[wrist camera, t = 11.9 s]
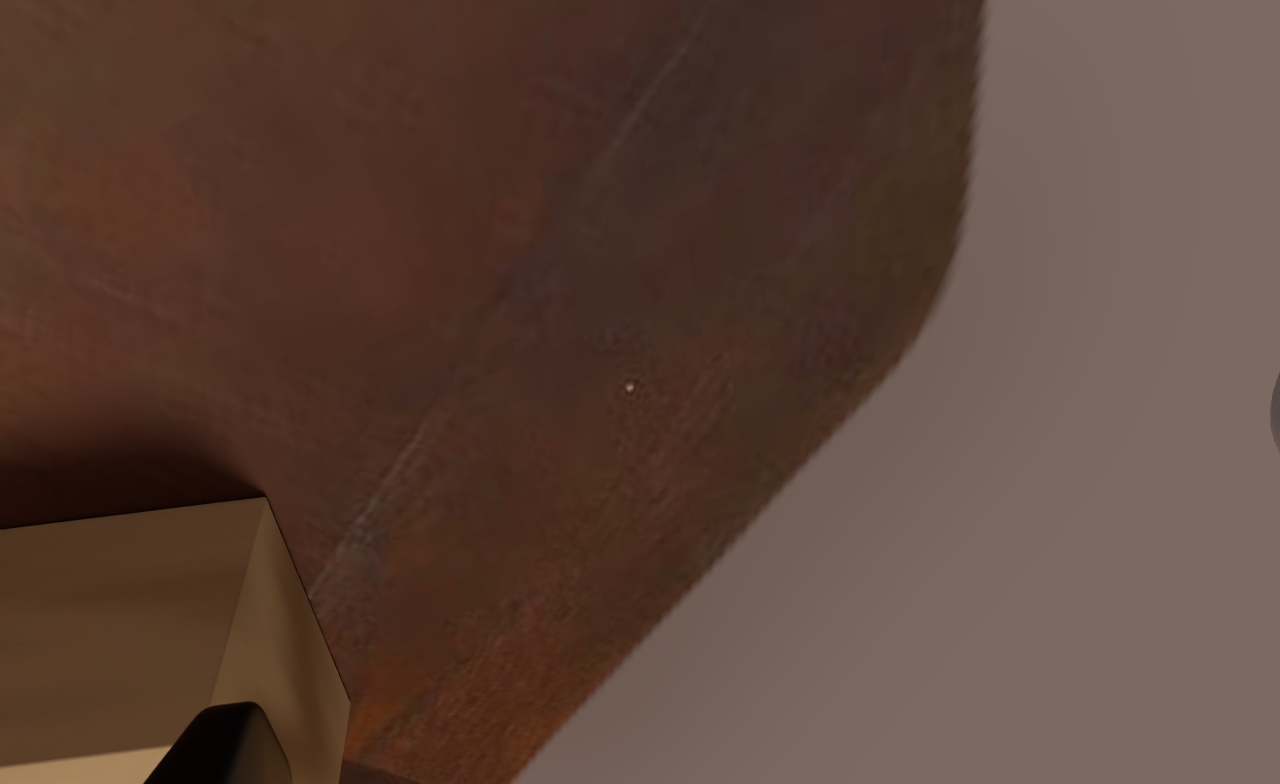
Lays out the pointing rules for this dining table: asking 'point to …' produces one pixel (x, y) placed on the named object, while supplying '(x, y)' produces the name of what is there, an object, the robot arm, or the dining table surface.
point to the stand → (157, 643)
